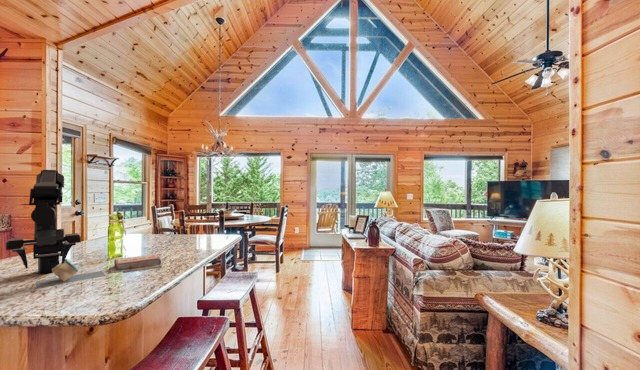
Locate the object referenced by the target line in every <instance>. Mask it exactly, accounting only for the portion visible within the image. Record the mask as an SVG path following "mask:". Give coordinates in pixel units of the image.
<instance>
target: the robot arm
mask: <svg viewBox="0 0 640 370" xmlns="http://www.w3.org/2000/svg"><path fill="white" fill-rule="evenodd" d="M35 179H36V180H35V183H34V185H33V186H32V188H30V192H29V202H28V205H29V206H35V208H34V209H33V210H32V211H31V214H30V218H31V220H32V221H33V223H34V225H33V229H34V230H33V238H32V239H25V240H24V237H20V238H9V239H8V240H6V242H5V250H6V251H10V250H11V252H12V253H16V254H18V255H19V257H20V259H21V260H22V263H23V265H24V267H25V269H26V270H27V269H28V268H29V267H28V258H27V253H26V247H25V246H32V249H33V250H32V254H33V255H32V256H33V257H32V258H33V260H36V259H37V261H38V262H37V271H34V272H33V274H35V275H36V274H37V275H49V274H52V273H53V272H52V269H53V268H54V267H55V266H57V265H58V264H60V257H61V262H62V263H64V261H65V259H67V256H68V253H69V251H70V250H71V248H73V246H76V245H77V244H78V243H81V241H82V236H81V235H80V234H78V233H77V232H76V233H66V234H65V230H64V228H58V229H57V222H58V221H57V220H58V217H57V216H58V215H57V214H58V213H57V212H58V207H57V205H58V206H59V205H61V203H63V194H64V193H63V188H65V176H64V175H63V174H62V173H60V172H59V170H56V169H42V170H40V173H38V174H36V178H35ZM53 274H54V273H53Z"/></svg>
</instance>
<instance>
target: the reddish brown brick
mask: <svg viewBox="0 0 640 370" xmlns="http://www.w3.org/2000/svg"><path fill="white" fill-rule="evenodd" d="M113 263H114V264H112V265H110V274H113V273H114V274H115V273H121V272H122V273H128V272H129V273H130V272H137V271H142V270H143V271H144V270H149V269H158V268H163V267H162V266H163V265H162V258H161V256H160V255H159V254H151V255H149V254H148V255H139V256H130V257H129V256H128V257H120V258H119V257H118V258H115V259H114V261H113Z"/></svg>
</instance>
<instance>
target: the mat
mask: <svg viewBox="0 0 640 370" xmlns="http://www.w3.org/2000/svg"><path fill="white" fill-rule="evenodd" d="M106 276H107V274H106V273H105V272H104V271H102V270H99V271H98V270H97V271H93V272H86V273H80V274H74V275H72V276H71V277H70V278H68V279H67V280H66V281H63V280H61V279H60V278H59V277H55V278H50V279H44V280H36V281H35V284H36V289H40V288H45V287H51V286H57V285H63V284H69V283H74V282H80V281H84V280H90V279H95V278H101V277H106Z"/></svg>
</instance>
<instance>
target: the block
mask: <svg viewBox="0 0 640 370" xmlns="http://www.w3.org/2000/svg"><path fill="white" fill-rule="evenodd" d="M52 272H53V274H54V275H55V276H57V278H60V279H61V280H63V281H66V280H67V279H68V278H70V277H71V276H73V275H76V274H77V273H78V272H79V269H78V268H77V267H76V266H75V265H73V263H72V262H70V261H69V259H67V258H66V259H65V261H64V263H62V261H61V262H59V264H58V265H57V266H55V267H54V268H53V269H52Z"/></svg>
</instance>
